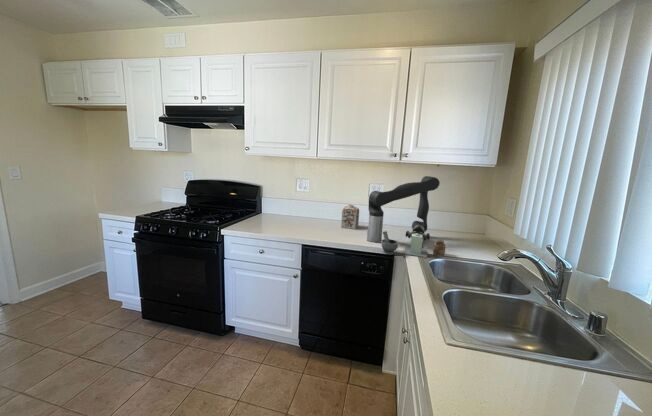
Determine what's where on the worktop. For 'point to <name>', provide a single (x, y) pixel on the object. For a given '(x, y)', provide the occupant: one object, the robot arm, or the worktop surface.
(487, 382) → the worktop surface
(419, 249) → the pale green block
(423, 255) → the grey square tile
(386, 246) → the mortar and pestle
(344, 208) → the decorative jar
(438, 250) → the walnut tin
